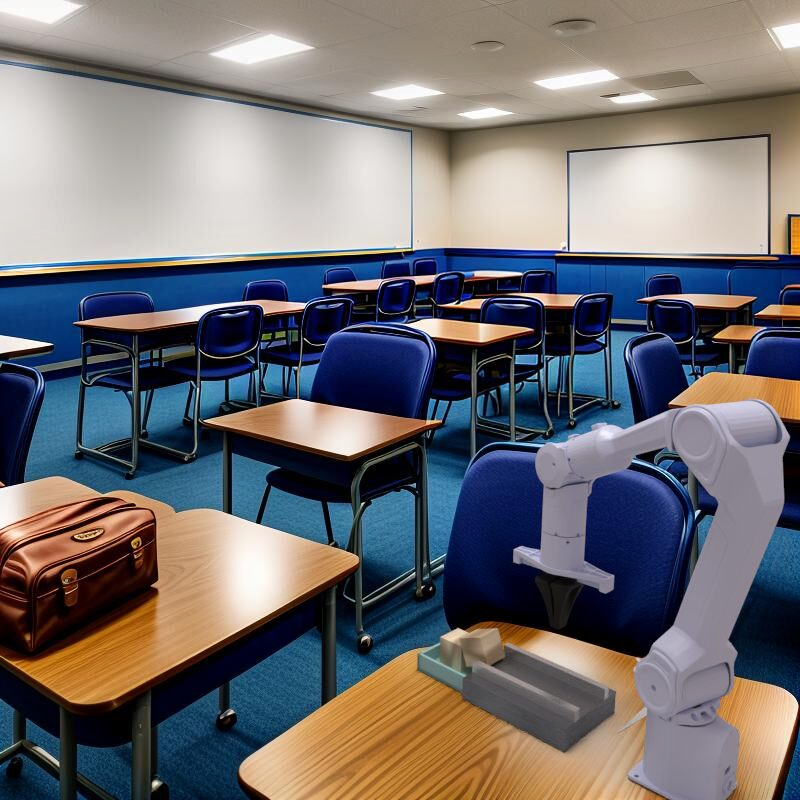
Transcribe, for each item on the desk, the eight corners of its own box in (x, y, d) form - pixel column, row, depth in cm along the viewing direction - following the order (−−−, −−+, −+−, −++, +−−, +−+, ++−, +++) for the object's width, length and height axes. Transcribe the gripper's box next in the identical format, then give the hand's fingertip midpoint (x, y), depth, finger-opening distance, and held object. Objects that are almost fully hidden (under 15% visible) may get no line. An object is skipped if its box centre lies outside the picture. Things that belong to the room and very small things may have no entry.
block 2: (505, 656, 105) (497, 628, 105) (487, 666, 102) (480, 637, 102) (484, 656, 107) (477, 629, 108) (466, 666, 105) (459, 638, 105)
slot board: (614, 712, 97) (616, 680, 97) (564, 752, 89) (566, 718, 88) (515, 666, 108) (516, 637, 108) (462, 698, 100) (463, 667, 99)
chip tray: (509, 668, 108) (510, 652, 108) (465, 694, 101) (465, 677, 101) (461, 646, 114) (462, 631, 114) (417, 669, 107) (417, 653, 107)
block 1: (479, 637, 108) (458, 628, 110) (461, 646, 105) (440, 636, 108) (478, 662, 108) (457, 653, 111) (460, 672, 106) (439, 662, 108)
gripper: (628, 537, 97) (621, 634, 99) (535, 511, 107) (531, 600, 109) (600, 550, 92) (594, 652, 94) (505, 522, 102) (501, 615, 104)
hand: (558, 625), depth 101 cm, fingers closed
